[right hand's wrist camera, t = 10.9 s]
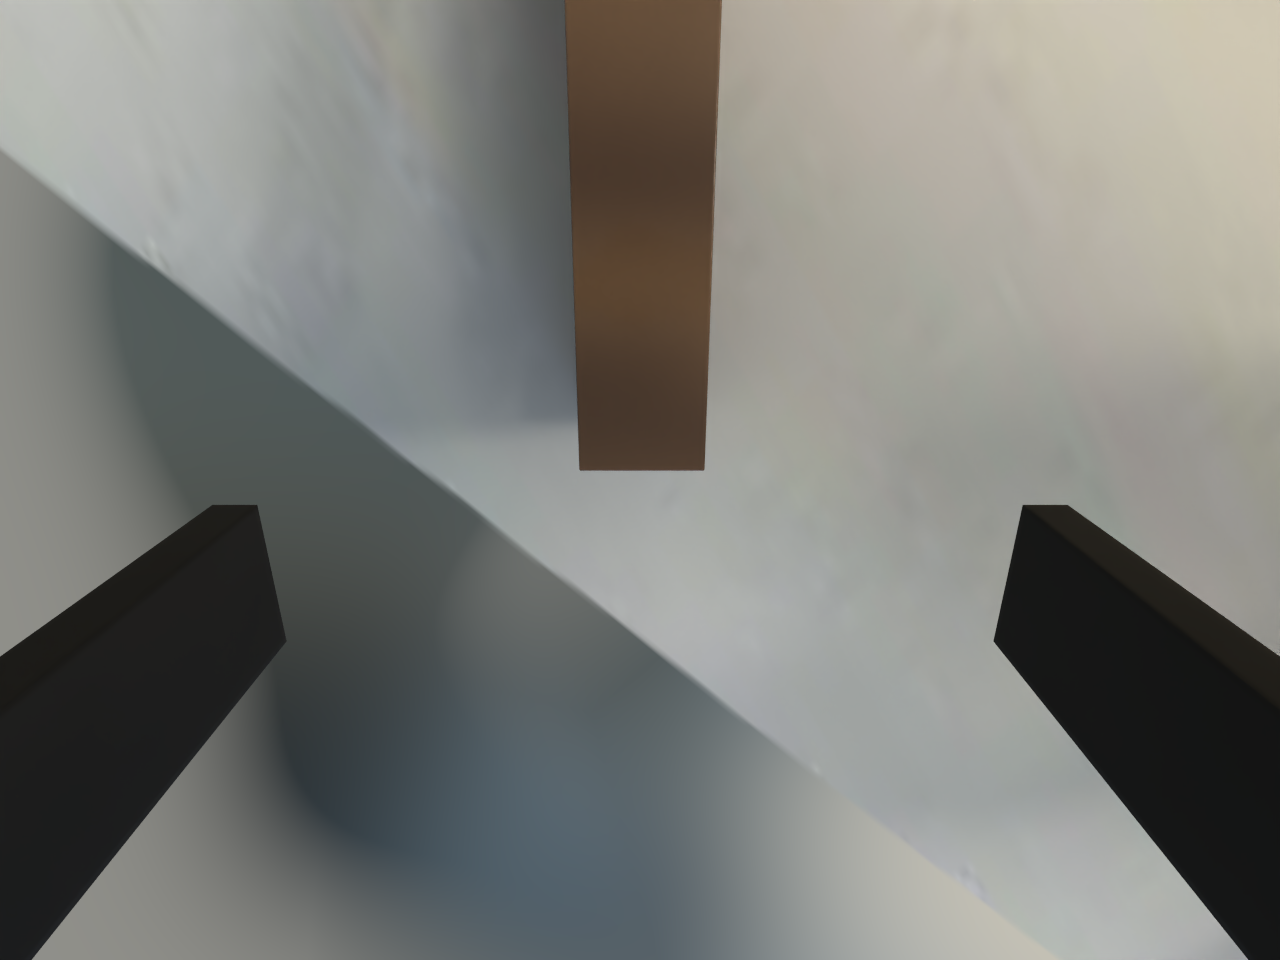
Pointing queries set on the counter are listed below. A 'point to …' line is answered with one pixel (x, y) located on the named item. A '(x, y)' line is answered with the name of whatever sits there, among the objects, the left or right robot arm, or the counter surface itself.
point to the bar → (642, 226)
